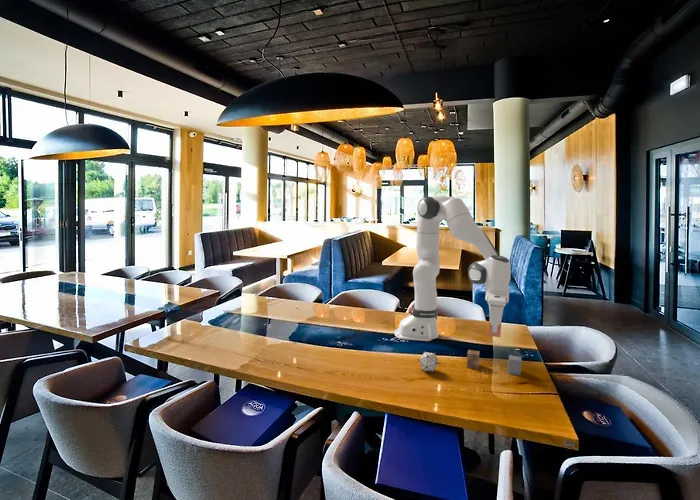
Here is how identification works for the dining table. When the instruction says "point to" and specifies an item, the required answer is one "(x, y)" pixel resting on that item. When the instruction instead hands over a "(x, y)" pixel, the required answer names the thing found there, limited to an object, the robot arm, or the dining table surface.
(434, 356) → the game die
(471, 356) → the walnut block
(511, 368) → the grey block
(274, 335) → the dining table surface
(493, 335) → the red block
